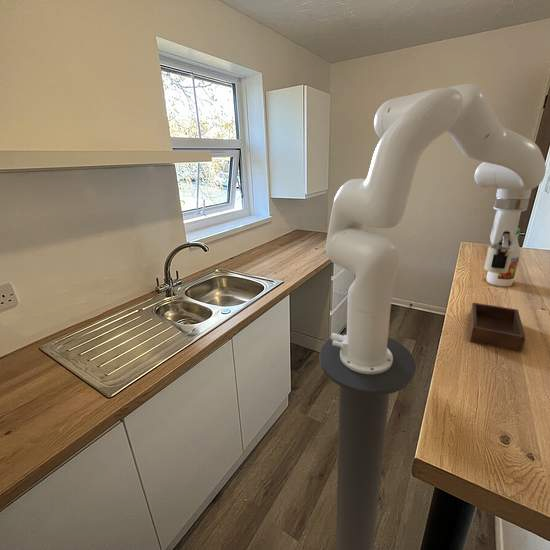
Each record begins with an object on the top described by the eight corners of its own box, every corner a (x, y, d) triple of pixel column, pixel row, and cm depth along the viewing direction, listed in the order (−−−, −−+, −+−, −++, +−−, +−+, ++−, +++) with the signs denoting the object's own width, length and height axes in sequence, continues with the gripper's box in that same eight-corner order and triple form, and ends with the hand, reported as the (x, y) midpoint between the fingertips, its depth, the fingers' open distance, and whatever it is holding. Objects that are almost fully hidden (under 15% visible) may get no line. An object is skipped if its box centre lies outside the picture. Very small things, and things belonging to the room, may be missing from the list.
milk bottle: (485, 284, 107) (497, 230, 99) (486, 276, 113) (498, 224, 105) (512, 288, 103) (527, 232, 95) (512, 280, 109) (526, 226, 101)
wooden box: (470, 341, 79) (473, 327, 77) (470, 315, 90) (472, 302, 88) (521, 352, 73) (525, 337, 72) (514, 322, 85) (517, 309, 83)
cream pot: (484, 271, 91) (489, 249, 88) (483, 264, 95) (488, 243, 93) (508, 274, 88) (514, 251, 85) (506, 267, 92) (512, 245, 90)
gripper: (492, 198, 92) (481, 253, 99) (496, 209, 79) (482, 272, 86) (523, 198, 89) (509, 256, 96) (533, 210, 75) (515, 276, 82)
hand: (497, 263), depth 91 cm, fingers closed on cream pot, 6 cm apart
